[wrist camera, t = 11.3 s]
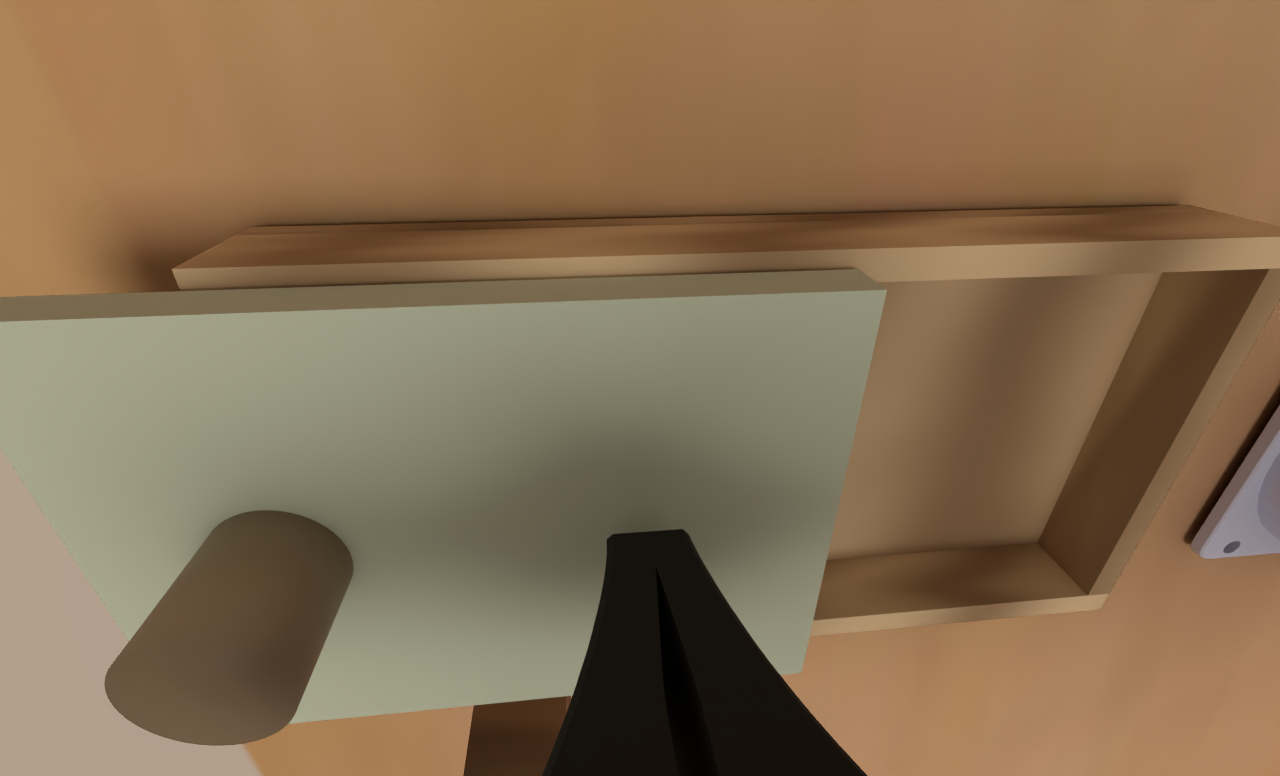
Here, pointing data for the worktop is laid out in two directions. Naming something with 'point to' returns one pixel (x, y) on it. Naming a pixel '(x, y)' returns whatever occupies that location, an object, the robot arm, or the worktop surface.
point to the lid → (425, 475)
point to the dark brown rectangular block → (514, 736)
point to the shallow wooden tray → (924, 370)
